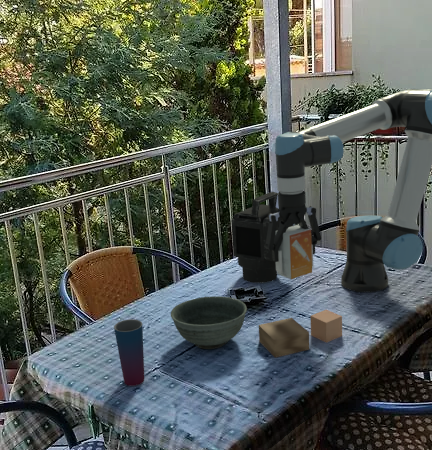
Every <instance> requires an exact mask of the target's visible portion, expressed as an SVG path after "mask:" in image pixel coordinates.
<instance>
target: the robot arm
mask: <svg viewBox="0 0 432 450" xmlns="http://www.w3.org/2000/svg"><path fill="white" fill-rule="evenodd" d="M399 127H400V128H403V127H405V128H404V133H405V134H406V136H407V139H406V140H407V141H406V145H405V148H404V153H403V155H402V159H401V163H400V166H399V171H398V174H397V178H396V181H395V185H394V189H393V192H392V196H391V199H390V203H389V206H388V207H389V208H388V210H387V214H386V215H385V216H382V215H371V214H370V215H359V216H354V217H351V218H349V219H348V220H347V222H346V230H345V232H346V234H345V236H346V239H345V240H346V262H345V265H344V268H343V272H342V274H341V277H340V278H341V280H340V283H341V286H342V287H343V288H344V289H347V290H349V291H353V292H357V293H375V292H380V291H382V290H385V289H386V288H387V287H388V286H389V278H388V277H389V276H388V274H387V271H386V267H387V268H390V269H391V268H392V269H393V270H398V271H403V270H407V269H410V268H411V267H412V266H414V265H415V264H416V263H417V262H418V261H419V259H420V257H421V256H422V252H423V245H424V244H423V243H422V240H421V238H420V236H418V235H419V231H420V227H419V225H418V224H417V219H418V216H419V212H420V208H421V204H422V201H423V197H424V193H425V190H426V187H427V183H428V180H429V177H430V173H431V169H432V88H430V89H428V88H426V89H425V88H424V89H421V88H420V89H418V88H417V89H416V88H409V89H405V90H400V91H397V92H394V93H391V94H389V95H386V96H384V97H381V98H378V99H376V100H374V101H373V102H372V103H371V105H368V106H366V107H363V108H360V109H358V110H355V111H353V112H350V113H347V114H344V115H342V116H339V117H336V118H333V119H330V120H327V121H325V122H322V123H319V124H317V125H314V126H311V127H309V128H308V127H307V128H305V129H303V130H299V131H287V132H284V133H283V134H282V133H281V134H279V135H277V136H276V137H275V142H274V144H275V145H274V147H275V148H274V154H275V165H276V166H275V167H276V169H275V170H276V185H277V186H276V187H277V191H278V192H277V193H278V195H277V205H278V212H277V213H274V214H271V213H270V214H268V219H269V225H268V232H267V238H266V244H265V247H266V248H267V249H269V250H272V257H273V261H275V262H276V271H277V272H279V273H283V270H282V251H281V250H279V248H280V245H281V243H282V240H283V233H286V230H287V229H288V227H289V225H293V226H294V225H299V226H300V227H301V228H303V229H311V243H312V268H313V267H314V255H315V254H316V245H317V244H318V242H320V241H321V240H322V234H321V231H320V227H319V223H318V219H317V208H316V207H313V206H311V205H310V206H309V207H306V191H305V190H306V180H305V171H306V170H305V168H309V167H316V166H322V165H327V164H328V165H330V164H333V163H336V162H339V161H341V160H342V159H343V156H344V144H343V143H345V142H347V141H351V140H352V139H355V138H358V137H360V136H364V135H365V134H368V133H371V132H374V131H377V130H383V131H384V130H388V129H391V128H399ZM305 215H307V218H308V221H309V226H310V228H309V226H308V224H307V222H306V219H305ZM278 217H280V219H281V221H280V223H279V228H278V231H277V233H276V236H275V232H276V225H277V222H276V221H278ZM284 223H285V224H284Z"/></svg>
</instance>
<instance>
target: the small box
mask: <svg viewBox="0 0 432 450" xmlns="http://www.w3.org/2000/svg"><path fill="white" fill-rule="evenodd" d="M276 233H277V231H276V232H275V234H276ZM311 233H312V229H311V228H309V229H303V228H301V227H300V225H299V224H294V225H293V226H292V227H288V229H287V230H286V233H283V240H282V243H281V245H280V248H279V250H281V251H282V270H283V273H279V272H277V275H278V276H282V277H284V278H286V279H289V280H294V279H296V278H299V277H302V276H306V275H309V274H312V273H313V267H312V243H311Z"/></svg>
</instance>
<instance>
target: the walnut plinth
mask: <svg viewBox="0 0 432 450" xmlns="http://www.w3.org/2000/svg"><path fill="white" fill-rule="evenodd" d="M258 341H259V343H260V344H261V345H262V346H263V347H264V348H265V349H266V350H267V351H268V352H269V354H271V355H272V356H273V358H275V359H276V358H281V357H283V356H284V357H285V356H288V355H293V354H297V353H300V352H304V351H308V350H309V351H310V332H309V331H308V330H307V329H306V328H305V327H303V326H302V324H300V323H299V322H298V321H296V320H295V319H294V318H292V317H290V318H284V319H280V320H275V321H271V322H266V323H261V324H258Z"/></svg>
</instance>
